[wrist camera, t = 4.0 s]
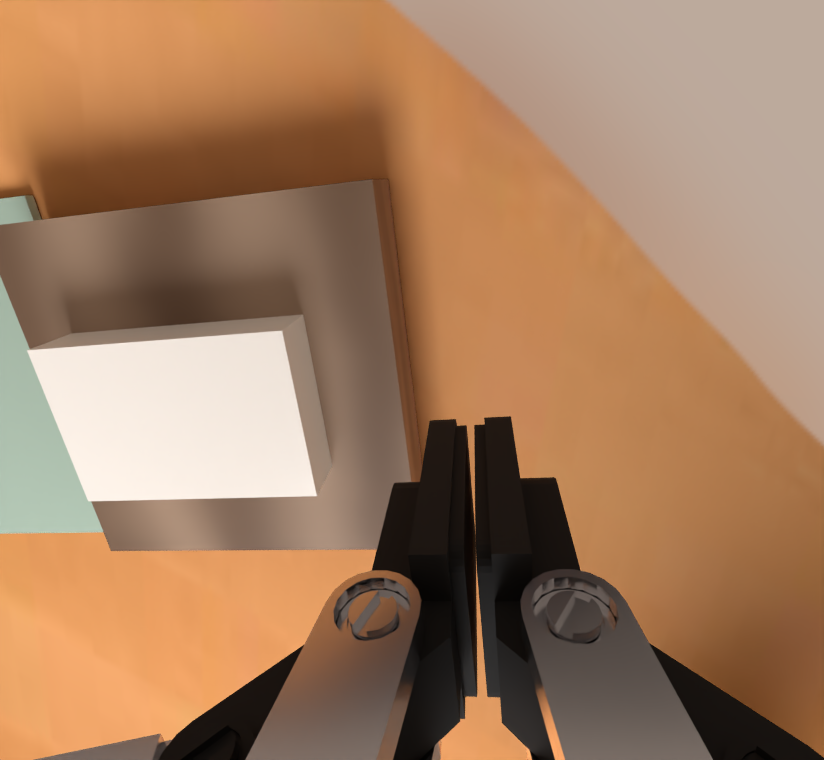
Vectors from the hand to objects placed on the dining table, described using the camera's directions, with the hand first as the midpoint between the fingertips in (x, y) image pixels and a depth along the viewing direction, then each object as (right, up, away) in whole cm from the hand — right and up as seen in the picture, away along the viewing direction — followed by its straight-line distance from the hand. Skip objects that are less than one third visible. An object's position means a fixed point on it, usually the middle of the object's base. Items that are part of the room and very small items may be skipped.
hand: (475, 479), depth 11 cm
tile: (-9, +1, +8) cm, 12 cm away
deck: (-8, +2, +11) cm, 14 cm away
